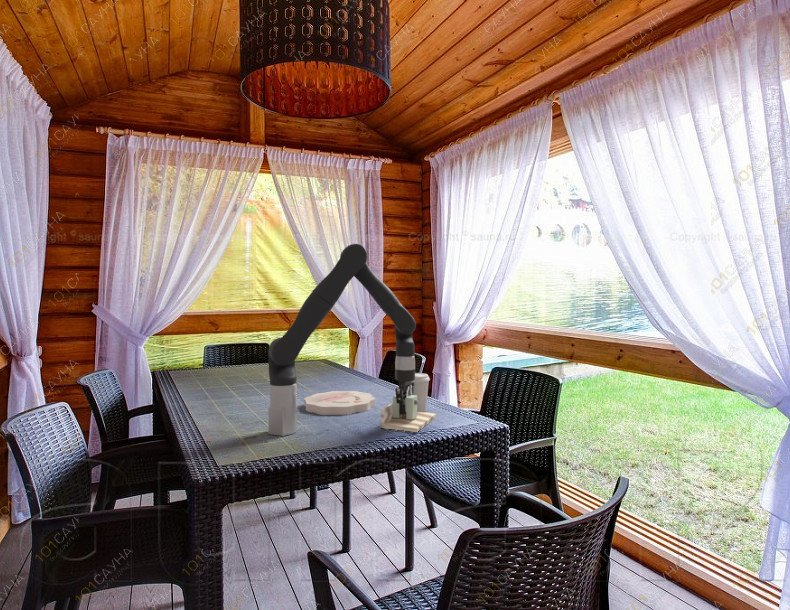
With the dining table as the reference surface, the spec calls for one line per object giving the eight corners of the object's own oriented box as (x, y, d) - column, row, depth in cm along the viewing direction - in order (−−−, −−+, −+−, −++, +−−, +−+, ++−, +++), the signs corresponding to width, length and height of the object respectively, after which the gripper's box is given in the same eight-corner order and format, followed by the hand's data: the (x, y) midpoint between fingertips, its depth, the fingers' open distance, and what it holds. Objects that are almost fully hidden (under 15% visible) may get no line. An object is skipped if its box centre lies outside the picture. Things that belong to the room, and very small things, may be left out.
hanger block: (415, 419, 182) (415, 398, 181) (392, 417, 185) (392, 396, 185) (419, 416, 186) (419, 395, 186) (397, 414, 190) (397, 393, 189)
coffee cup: (403, 409, 206) (403, 373, 205) (423, 407, 209) (423, 372, 209) (412, 414, 197) (412, 377, 196) (433, 412, 201) (433, 376, 200)
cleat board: (417, 433, 173) (417, 413, 172) (380, 428, 178) (380, 409, 178) (436, 417, 193) (436, 399, 193) (403, 413, 198) (403, 396, 198)
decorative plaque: (338, 388, 232) (388, 396, 214) (338, 395, 233) (388, 405, 214) (289, 399, 208) (341, 410, 190) (289, 408, 209) (341, 420, 190)
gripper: (407, 371, 177) (407, 418, 178) (420, 365, 190) (420, 408, 191) (388, 369, 180) (388, 415, 181) (402, 364, 193) (402, 407, 194)
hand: (405, 412), depth 186 cm, fingers closed on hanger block, 5 cm apart
